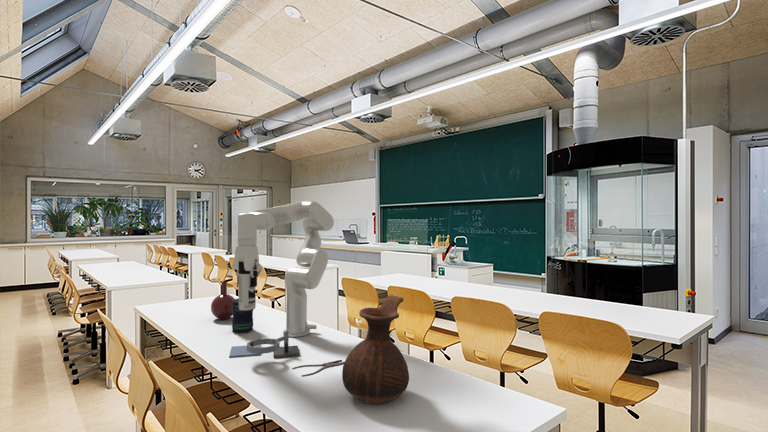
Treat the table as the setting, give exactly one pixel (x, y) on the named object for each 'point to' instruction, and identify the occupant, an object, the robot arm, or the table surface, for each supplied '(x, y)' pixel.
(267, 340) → the ring stand
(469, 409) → the table surface
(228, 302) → the round-bottom flask
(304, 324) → the robot arm
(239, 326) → the storage jar
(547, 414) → the table surface
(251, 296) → the spray can
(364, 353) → the jug
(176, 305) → the table surface
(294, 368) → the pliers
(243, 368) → the table surface
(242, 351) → the mat
